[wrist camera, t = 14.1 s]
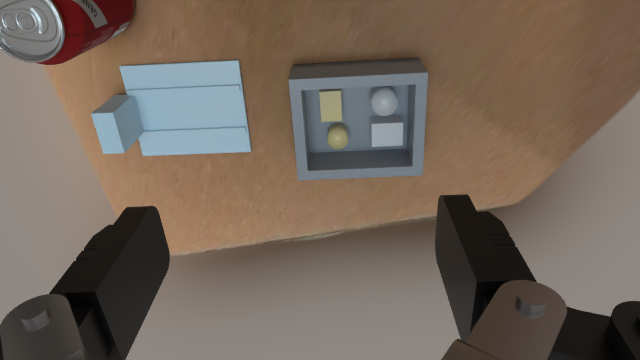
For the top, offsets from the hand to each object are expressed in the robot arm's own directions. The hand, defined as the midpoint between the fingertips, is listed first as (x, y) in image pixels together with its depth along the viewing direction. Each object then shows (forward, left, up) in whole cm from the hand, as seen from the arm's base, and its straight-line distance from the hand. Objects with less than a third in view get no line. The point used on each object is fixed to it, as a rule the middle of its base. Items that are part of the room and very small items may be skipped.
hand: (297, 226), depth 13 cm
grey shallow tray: (+9, +3, -33) cm, 34 cm away
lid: (+8, -14, -34) cm, 37 cm away
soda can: (-3, -20, -33) cm, 39 cm away
